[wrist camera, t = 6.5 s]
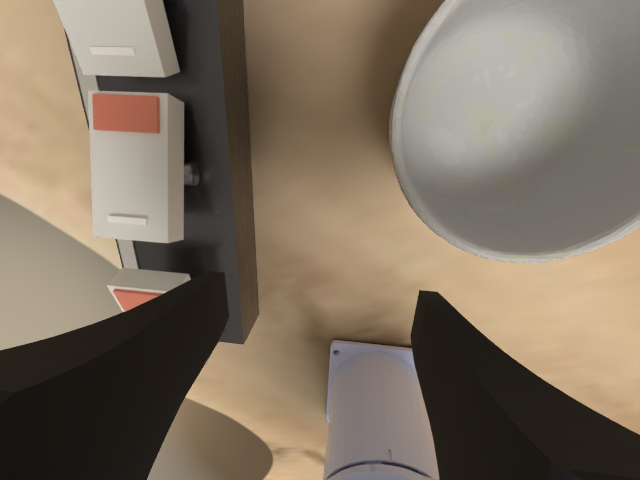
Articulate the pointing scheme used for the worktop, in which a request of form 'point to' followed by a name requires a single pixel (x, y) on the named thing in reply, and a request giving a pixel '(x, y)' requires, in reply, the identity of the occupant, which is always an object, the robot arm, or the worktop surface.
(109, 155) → the block
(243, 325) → the switch panel
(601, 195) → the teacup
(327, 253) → the worktop surface
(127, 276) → the block
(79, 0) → the rocker
